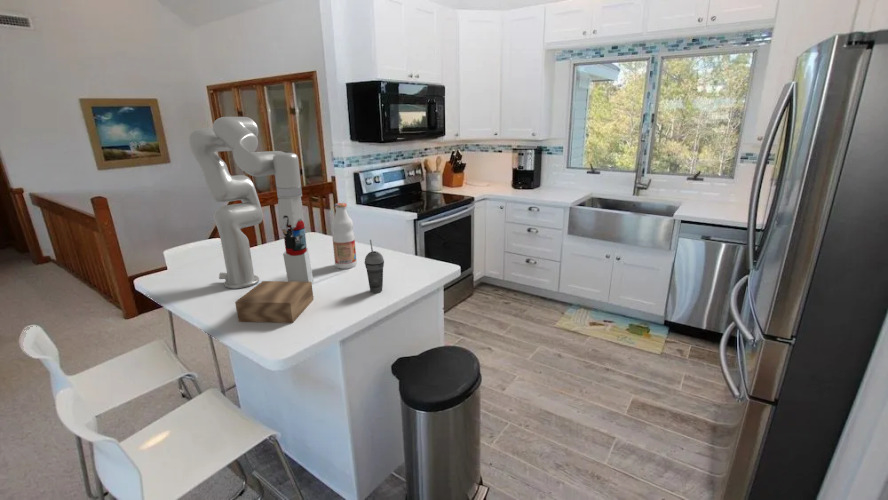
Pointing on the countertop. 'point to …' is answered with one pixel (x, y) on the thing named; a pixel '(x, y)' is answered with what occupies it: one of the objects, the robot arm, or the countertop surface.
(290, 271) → the skincare box
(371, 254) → the beverage cup
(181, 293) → the countertop surface
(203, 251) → the countertop surface
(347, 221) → the fruit juice
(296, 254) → the beverage can
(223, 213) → the robot arm
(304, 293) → the walnut block
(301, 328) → the countertop surface
